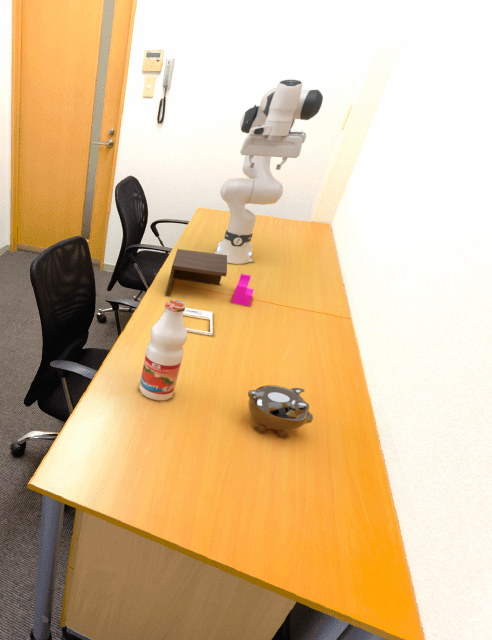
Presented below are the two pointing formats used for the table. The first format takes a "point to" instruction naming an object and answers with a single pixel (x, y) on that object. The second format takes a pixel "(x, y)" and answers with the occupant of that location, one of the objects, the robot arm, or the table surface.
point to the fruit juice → (164, 353)
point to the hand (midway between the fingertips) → (264, 168)
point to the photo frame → (202, 315)
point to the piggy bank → (278, 408)
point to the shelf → (197, 267)
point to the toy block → (243, 291)
